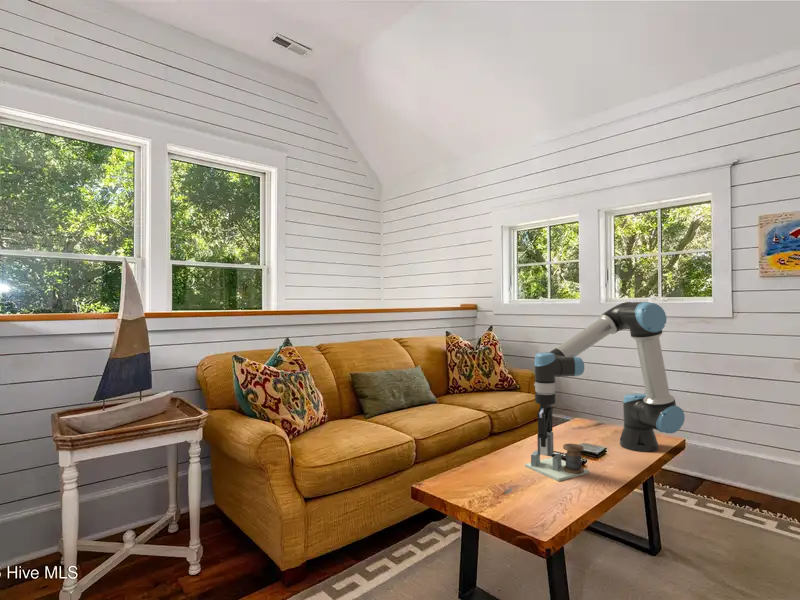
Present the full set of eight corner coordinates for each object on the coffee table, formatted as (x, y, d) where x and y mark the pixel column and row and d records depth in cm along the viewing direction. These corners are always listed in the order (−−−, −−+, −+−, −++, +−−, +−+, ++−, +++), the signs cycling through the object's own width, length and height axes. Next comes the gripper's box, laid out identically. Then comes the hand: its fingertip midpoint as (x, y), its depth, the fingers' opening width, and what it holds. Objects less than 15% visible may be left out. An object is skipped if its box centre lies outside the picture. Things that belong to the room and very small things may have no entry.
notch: (535, 461, 191) (535, 450, 191) (561, 465, 185) (561, 454, 185) (531, 466, 186) (530, 454, 186) (557, 470, 180) (557, 459, 180)
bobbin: (572, 465, 185) (572, 442, 185) (588, 471, 179) (587, 447, 179) (559, 469, 182) (559, 445, 182) (574, 475, 176) (574, 450, 176)
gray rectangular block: (540, 451, 188) (540, 431, 188) (553, 453, 186) (553, 432, 186) (537, 454, 185) (537, 433, 185) (550, 456, 182) (550, 435, 182)
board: (554, 459, 196) (554, 456, 196) (589, 472, 180) (589, 470, 180) (524, 466, 188) (524, 463, 188) (558, 481, 173) (558, 478, 173)
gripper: (541, 388, 194) (542, 445, 195) (528, 395, 180) (529, 457, 180) (560, 389, 190) (561, 448, 191) (549, 398, 176) (549, 461, 176)
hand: (545, 452), depth 185 cm, fingers closed on gray rectangular block, 4 cm apart
